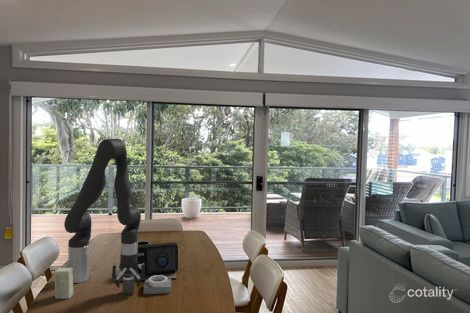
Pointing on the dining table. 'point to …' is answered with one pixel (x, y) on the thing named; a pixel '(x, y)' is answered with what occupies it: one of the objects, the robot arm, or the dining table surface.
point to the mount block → (157, 285)
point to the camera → (158, 257)
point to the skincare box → (63, 283)
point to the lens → (128, 284)
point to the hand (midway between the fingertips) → (128, 286)
